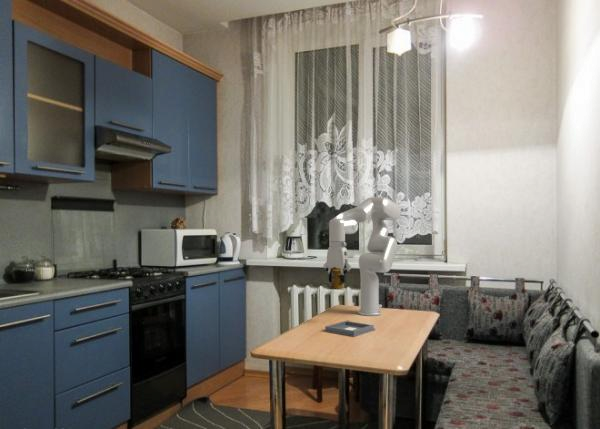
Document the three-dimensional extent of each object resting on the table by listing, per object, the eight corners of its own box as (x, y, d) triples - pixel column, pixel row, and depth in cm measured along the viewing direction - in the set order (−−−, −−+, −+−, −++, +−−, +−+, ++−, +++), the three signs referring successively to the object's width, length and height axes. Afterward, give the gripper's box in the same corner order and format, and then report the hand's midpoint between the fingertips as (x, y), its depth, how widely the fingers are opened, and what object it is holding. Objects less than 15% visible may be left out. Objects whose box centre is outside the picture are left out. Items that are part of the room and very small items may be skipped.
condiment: (346, 289, 234) (346, 264, 234) (328, 290, 233) (328, 264, 233) (342, 287, 241) (342, 262, 241) (325, 287, 240) (325, 263, 240)
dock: (345, 324, 232) (345, 320, 232) (375, 329, 221) (375, 325, 221) (323, 331, 218) (323, 326, 218) (354, 336, 208) (354, 331, 208)
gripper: (356, 245, 234) (356, 283, 234) (327, 243, 245) (327, 280, 245) (347, 246, 228) (347, 285, 228) (318, 244, 239) (318, 281, 239)
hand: (337, 282), depth 237 cm, fingers closed on condiment, 6 cm apart
